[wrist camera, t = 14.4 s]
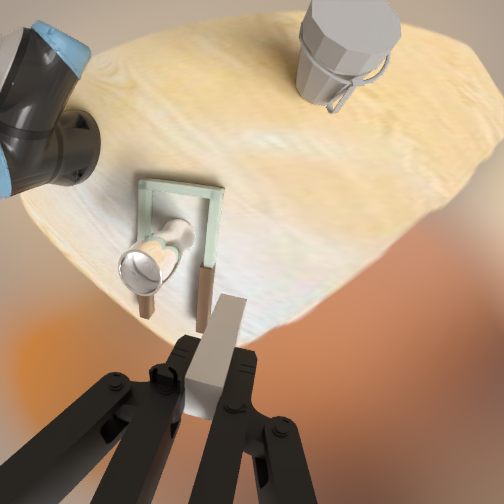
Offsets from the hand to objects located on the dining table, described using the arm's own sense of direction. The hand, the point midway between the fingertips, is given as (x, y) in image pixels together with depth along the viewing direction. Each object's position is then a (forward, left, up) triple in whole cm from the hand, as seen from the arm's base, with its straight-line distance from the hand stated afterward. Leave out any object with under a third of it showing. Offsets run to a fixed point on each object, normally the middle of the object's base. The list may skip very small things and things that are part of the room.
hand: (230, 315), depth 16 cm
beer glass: (-14, -8, -30) cm, 33 cm away
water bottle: (+5, +20, -30) cm, 36 cm away
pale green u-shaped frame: (-14, -5, -29) cm, 33 cm away
